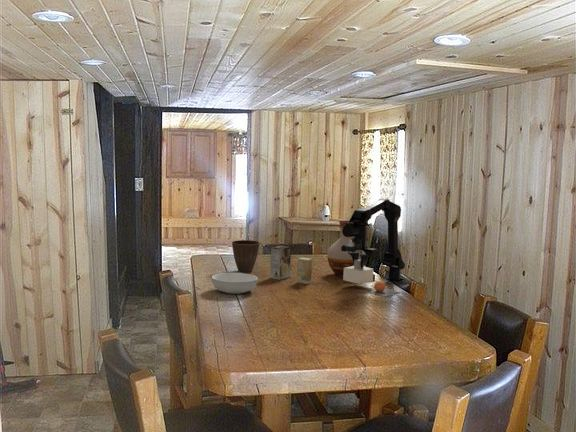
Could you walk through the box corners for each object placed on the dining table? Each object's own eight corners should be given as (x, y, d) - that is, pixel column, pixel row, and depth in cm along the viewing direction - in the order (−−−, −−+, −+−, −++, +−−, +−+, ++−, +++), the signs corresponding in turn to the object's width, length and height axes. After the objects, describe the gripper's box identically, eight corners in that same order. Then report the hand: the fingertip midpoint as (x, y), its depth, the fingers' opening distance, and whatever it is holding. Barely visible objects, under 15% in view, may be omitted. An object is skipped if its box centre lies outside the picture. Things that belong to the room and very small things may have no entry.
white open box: (356, 277, 270) (357, 257, 269) (372, 281, 263) (373, 260, 262) (343, 280, 263) (344, 259, 262) (360, 283, 256) (361, 262, 255)
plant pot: (257, 274, 285) (258, 244, 284) (229, 273, 286) (230, 243, 284) (259, 269, 300) (260, 240, 299) (233, 268, 301) (233, 239, 299)
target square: (379, 288, 262) (379, 287, 262) (400, 292, 254) (400, 292, 254) (364, 291, 254) (364, 291, 253) (385, 296, 245) (385, 296, 245)
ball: (388, 289, 254) (380, 292, 257) (384, 279, 255) (377, 283, 258) (382, 290, 250) (374, 294, 253) (378, 280, 252) (370, 284, 255)
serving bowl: (250, 298, 235) (250, 283, 234) (204, 295, 239) (204, 279, 238) (262, 288, 255) (262, 274, 254) (219, 285, 259) (220, 271, 258)
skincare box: (296, 282, 269) (297, 258, 268) (300, 281, 273) (301, 257, 272) (308, 284, 266) (308, 259, 265) (311, 282, 270) (312, 258, 269)
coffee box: (280, 275, 285) (281, 245, 284) (290, 277, 282) (291, 246, 280) (269, 278, 278) (270, 247, 277) (279, 279, 274) (280, 248, 273)
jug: (362, 272, 299) (364, 218, 296) (363, 279, 281) (366, 222, 278) (326, 271, 301) (328, 217, 298) (325, 277, 283) (328, 220, 280)
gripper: (334, 234, 262) (333, 266, 263) (366, 239, 249) (364, 272, 250) (348, 233, 270) (347, 264, 271) (380, 237, 257) (378, 269, 258)
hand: (358, 267), depth 262 cm, fingers closed on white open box, 3 cm apart
